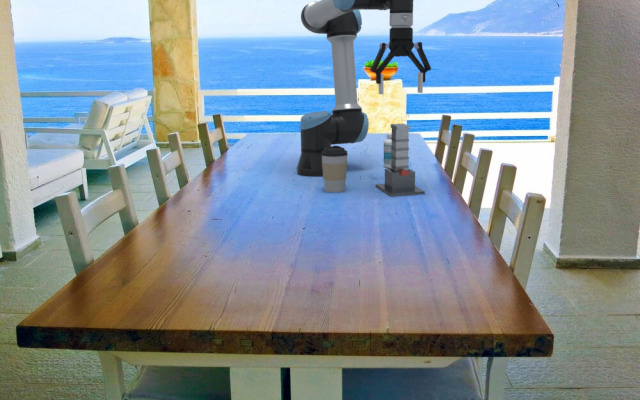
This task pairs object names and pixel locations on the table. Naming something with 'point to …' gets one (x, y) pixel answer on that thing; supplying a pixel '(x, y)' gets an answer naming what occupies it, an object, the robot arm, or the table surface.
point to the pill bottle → (388, 151)
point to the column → (399, 147)
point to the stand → (400, 183)
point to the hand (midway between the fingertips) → (400, 93)
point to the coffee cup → (334, 168)
